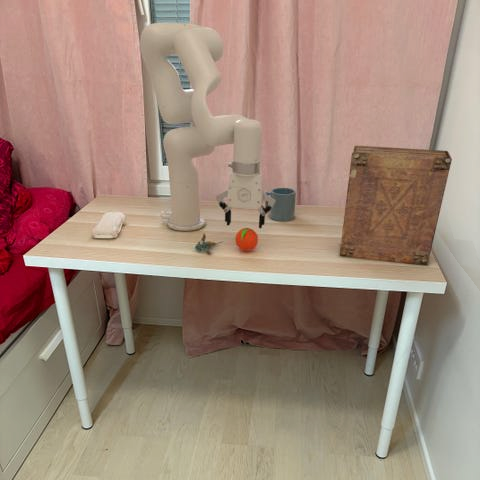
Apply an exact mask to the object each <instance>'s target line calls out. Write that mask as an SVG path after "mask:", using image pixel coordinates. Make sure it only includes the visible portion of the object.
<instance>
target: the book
mask: <svg viewBox="0 0 480 480" xmlns="http://www.w3.org/2000/svg"><path fill="white" fill-rule="evenodd" d="M452 161H453V158H452V156H451V154H450V152H449V151H448V150H440V149H439V150H437V149H425V148H424V149H422V148H408V147H407V148H406V147H391V146H390V147H388V146H373V145H371V146H370V145H354V147H353V151H352V152H351V157H350V165H349V175H348V183H347V190H346V200H345V207H344V216H343V225H342V233H341V240H340V241H341V242H340V249H339V256H340V257H345V258H346V257H347V258H354V259H363V260H365V259H366V260H375V261H384V262H392V263H393V262H394V263H403V264H411V265H422V266H428V265H429V261H430V256H431V252H432V247H433V243H434V238H435V234H436V230H437V226H438V225H437V224H438V221H439V217H440V213H441V208H442V203H443V200H444V196H445V191H446V186H447V182H448V178H449V173H450V168H451V166H452Z"/></svg>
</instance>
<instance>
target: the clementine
mask: <svg viewBox="0 0 480 480" xmlns="http://www.w3.org/2000/svg"><path fill="white" fill-rule="evenodd" d="M234 238H235V239H234V240H235V244H236V246H237V248H238V249H240V250H241V251H244V252H250V251H252V250H254V249H255V248H256V247H257V246H258V243H259V236H258V234H257V232H256V231H255V230H254V229H252V228H251V227H243V228H241V229H239V230H238V231H237V233H236V235H235V237H234Z"/></svg>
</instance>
